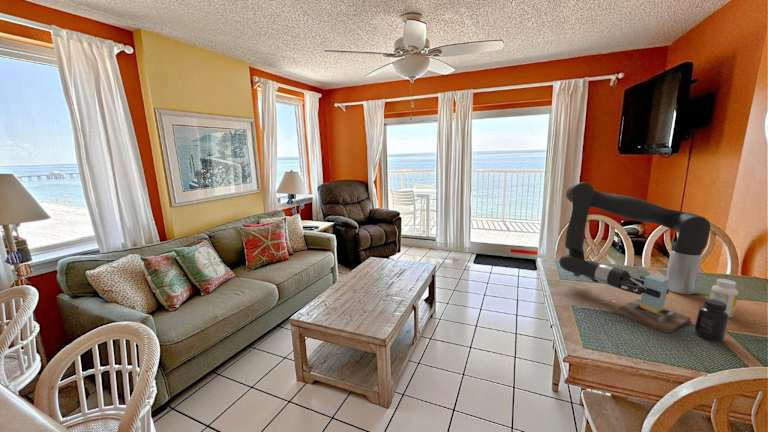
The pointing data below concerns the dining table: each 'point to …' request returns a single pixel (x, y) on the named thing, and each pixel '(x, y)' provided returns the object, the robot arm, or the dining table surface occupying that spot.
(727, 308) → the supplement bottle
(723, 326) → the supplement bottle
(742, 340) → the dining table surface
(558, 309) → the dining table surface
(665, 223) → the robot arm
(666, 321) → the socket board
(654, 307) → the peg
